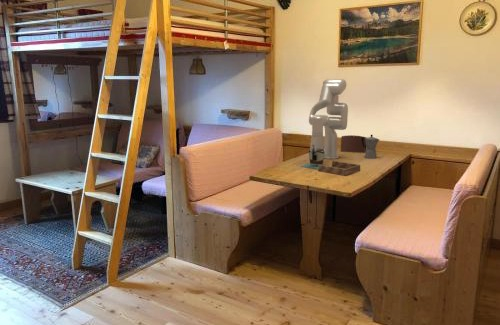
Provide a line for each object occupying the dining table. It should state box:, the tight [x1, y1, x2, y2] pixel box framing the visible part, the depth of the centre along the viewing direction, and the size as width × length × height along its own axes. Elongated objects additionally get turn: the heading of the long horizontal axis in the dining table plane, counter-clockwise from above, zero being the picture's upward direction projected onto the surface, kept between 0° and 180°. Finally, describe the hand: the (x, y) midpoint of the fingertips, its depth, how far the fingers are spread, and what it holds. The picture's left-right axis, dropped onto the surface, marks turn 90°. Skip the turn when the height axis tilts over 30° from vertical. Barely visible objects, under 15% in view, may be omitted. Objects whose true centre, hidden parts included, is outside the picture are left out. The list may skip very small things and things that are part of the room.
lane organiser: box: [317, 160, 361, 177], centre depth 275 cm, size 21×18×4 cm
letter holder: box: [340, 135, 367, 154], centre depth 342 cm, size 10×20×14 cm, turn 68°
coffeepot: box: [361, 134, 380, 160], centre depth 315 cm, size 15×9×18 cm, turn 44°
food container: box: [307, 149, 325, 165], centre depth 287 cm, size 12×6×10 cm, turn 63°
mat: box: [300, 162, 327, 170], centre depth 289 cm, size 16×12×1 cm
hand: (317, 159), depth 287 cm, fingers closed on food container, 6 cm apart
